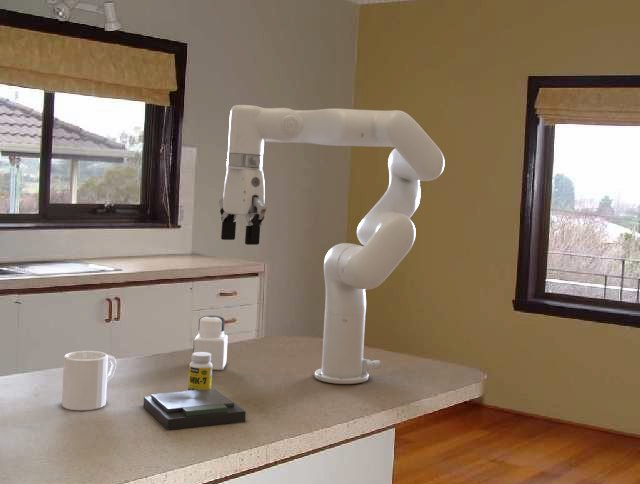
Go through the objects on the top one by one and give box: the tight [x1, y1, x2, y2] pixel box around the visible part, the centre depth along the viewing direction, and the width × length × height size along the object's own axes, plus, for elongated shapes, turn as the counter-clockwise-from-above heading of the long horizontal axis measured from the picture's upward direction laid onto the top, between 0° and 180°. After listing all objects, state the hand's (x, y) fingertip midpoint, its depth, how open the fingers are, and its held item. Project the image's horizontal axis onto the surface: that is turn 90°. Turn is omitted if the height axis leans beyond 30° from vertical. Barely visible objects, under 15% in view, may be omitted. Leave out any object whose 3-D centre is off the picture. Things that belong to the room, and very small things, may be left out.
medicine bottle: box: [192, 314, 228, 371], centre depth 209 cm, size 7×7×12 cm
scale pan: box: [150, 388, 235, 413], centre depth 171 cm, size 13×11×1 cm
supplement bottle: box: [187, 352, 213, 391], centre depth 186 cm, size 5×5×8 cm
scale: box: [142, 395, 247, 431], centre depth 171 cm, size 15×16×3 cm
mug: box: [61, 350, 118, 411], centre depth 174 cm, size 8×12×10 cm
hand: (239, 242), depth 190 cm, fingers open, 9 cm apart
